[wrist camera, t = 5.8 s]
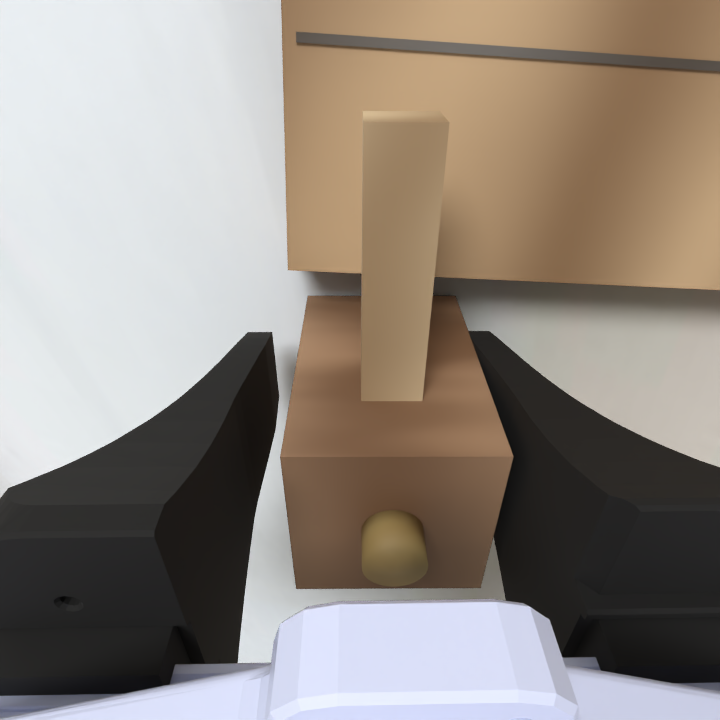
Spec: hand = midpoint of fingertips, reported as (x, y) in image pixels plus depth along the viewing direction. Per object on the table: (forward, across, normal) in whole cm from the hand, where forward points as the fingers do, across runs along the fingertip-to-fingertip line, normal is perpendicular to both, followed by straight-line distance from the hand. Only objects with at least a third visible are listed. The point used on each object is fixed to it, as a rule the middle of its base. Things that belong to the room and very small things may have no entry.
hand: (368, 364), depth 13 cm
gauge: (+2, 0, -2) cm, 2 cm away
